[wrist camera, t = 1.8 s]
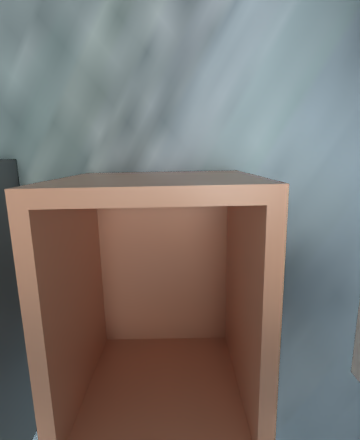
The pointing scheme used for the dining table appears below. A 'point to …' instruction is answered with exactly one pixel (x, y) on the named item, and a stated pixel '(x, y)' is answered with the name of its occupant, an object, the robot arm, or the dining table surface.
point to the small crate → (152, 303)
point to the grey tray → (12, 331)
